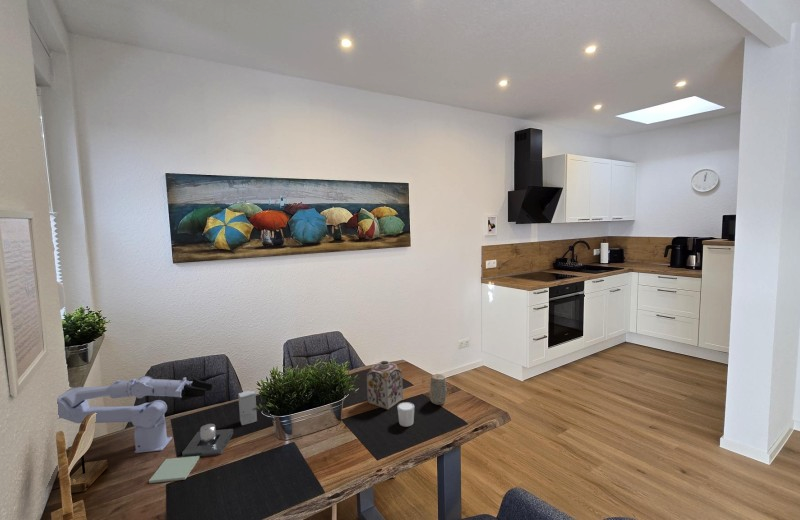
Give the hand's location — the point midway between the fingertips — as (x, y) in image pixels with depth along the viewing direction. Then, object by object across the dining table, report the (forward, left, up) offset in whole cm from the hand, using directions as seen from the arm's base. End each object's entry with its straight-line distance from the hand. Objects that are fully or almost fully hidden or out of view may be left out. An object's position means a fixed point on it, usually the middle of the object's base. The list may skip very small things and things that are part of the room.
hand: (208, 389), depth 141 cm
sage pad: (-6, -17, -20) cm, 27 cm away
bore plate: (0, -4, -20) cm, 20 cm away
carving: (+90, +13, -20) cm, 93 cm away
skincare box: (+10, +11, -20) cm, 25 cm away
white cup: (+74, -1, -20) cm, 77 cm away
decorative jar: (+67, +18, -20) cm, 72 cm away
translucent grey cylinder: (0, -4, -20) cm, 20 cm away
